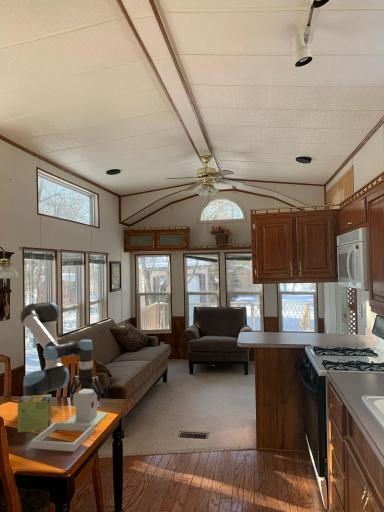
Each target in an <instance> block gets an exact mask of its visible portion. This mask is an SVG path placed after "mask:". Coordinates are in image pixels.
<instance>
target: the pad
mask: <svg viewBox="0 0 384 512" xmlns="http://www.w3.org/2000/svg"><path fill="white" fill-rule="evenodd" d="M108 415H109V414H108V412H98V411H97V416H96V417H95V418H94V419H93V420H91V421H90V422H88V421H76V413H74V414H73V415H72V416H70V417H69V419H67V420H65V422H64V423H79V424H94V425H95V428H96V427H97V426H98V425H99V424H100V423H101V422H102V421H103V420H105V418H106V417H107V416H108Z"/></svg>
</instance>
